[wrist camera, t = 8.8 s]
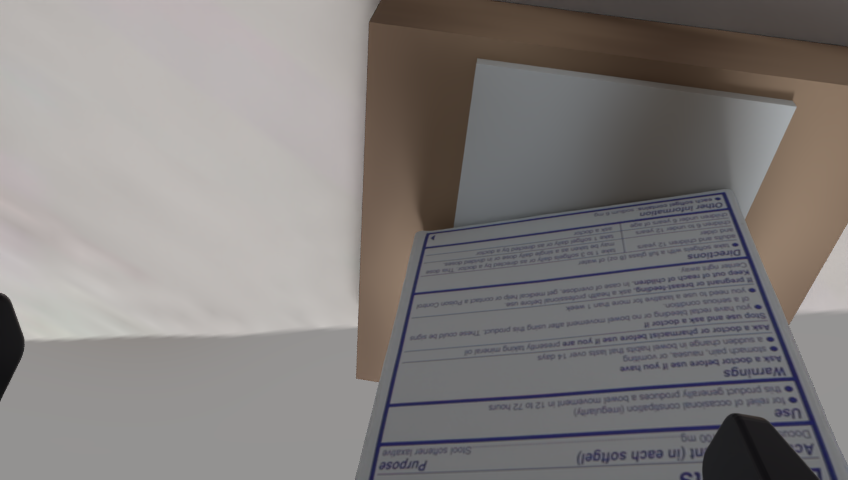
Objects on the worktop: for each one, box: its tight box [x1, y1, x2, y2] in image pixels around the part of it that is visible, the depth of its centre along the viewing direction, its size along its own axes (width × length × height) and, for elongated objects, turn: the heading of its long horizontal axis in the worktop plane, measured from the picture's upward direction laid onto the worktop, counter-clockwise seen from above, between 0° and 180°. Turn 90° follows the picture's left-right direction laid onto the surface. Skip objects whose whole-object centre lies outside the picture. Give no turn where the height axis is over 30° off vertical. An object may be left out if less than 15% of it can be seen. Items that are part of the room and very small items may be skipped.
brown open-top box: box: [356, 0, 848, 382], centre depth 20 cm, size 12×12×3 cm
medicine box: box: [355, 189, 848, 480], centre depth 15 cm, size 8×4×9 cm, turn 105°
